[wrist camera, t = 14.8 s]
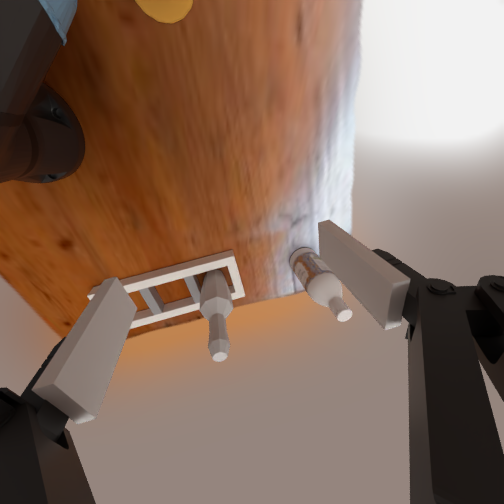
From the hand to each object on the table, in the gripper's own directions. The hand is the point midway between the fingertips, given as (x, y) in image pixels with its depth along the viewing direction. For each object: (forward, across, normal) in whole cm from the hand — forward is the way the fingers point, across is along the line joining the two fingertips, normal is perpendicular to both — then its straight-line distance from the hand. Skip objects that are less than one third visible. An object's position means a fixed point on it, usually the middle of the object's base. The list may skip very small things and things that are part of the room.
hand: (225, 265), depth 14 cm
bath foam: (+33, +16, -25) cm, 44 cm away
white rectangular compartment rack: (+33, -16, -23) cm, 43 cm away
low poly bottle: (+33, -6, -23) cm, 41 cm away
